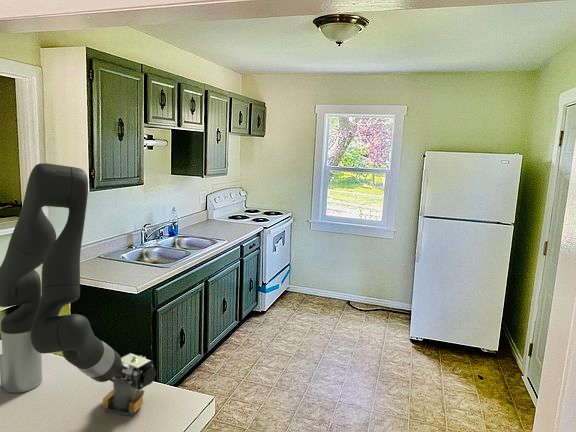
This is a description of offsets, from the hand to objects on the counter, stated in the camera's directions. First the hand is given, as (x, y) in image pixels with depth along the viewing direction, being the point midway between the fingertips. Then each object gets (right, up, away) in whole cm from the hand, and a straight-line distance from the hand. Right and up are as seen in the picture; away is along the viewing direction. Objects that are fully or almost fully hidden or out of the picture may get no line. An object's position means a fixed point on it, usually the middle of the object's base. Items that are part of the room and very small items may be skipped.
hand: (126, 381), depth 110 cm
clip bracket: (-1, -7, -1) cm, 7 cm away
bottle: (-1, -5, -1) cm, 5 cm away
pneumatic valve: (0, -6, +5) cm, 8 cm away
